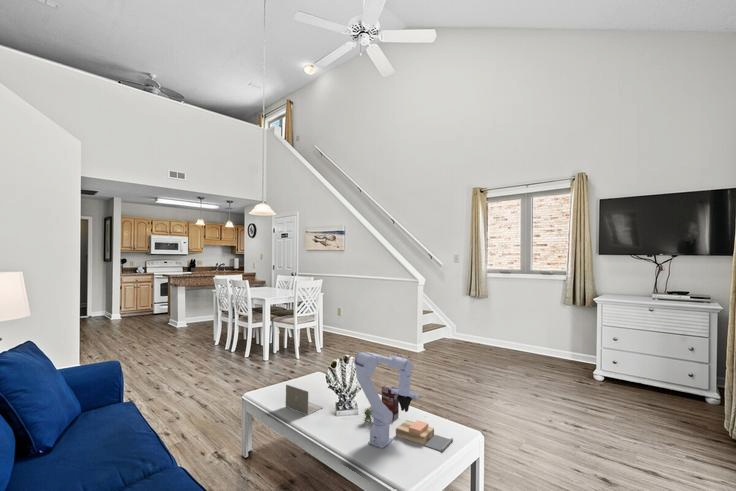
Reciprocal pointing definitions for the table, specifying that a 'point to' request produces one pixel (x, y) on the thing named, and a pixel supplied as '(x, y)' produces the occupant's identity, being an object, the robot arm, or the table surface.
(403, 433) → the deck
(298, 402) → the laptop
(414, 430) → the block
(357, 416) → the table surface
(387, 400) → the supplement box
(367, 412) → the green toy figurine
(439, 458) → the table surface
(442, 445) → the mat
